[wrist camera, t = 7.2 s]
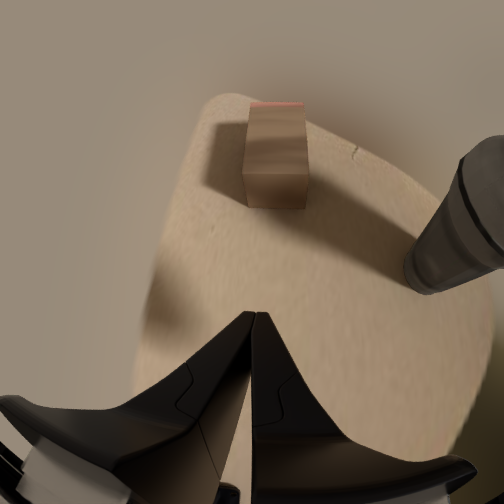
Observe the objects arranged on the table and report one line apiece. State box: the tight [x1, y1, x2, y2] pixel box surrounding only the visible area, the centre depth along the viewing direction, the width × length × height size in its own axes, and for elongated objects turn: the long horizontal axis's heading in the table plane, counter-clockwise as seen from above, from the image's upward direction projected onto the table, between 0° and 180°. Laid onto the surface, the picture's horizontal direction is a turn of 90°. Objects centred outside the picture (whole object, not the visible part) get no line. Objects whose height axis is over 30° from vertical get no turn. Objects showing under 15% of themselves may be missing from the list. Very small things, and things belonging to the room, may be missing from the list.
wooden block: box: [242, 102, 309, 209], centre depth 24 cm, size 5×5×9 cm
